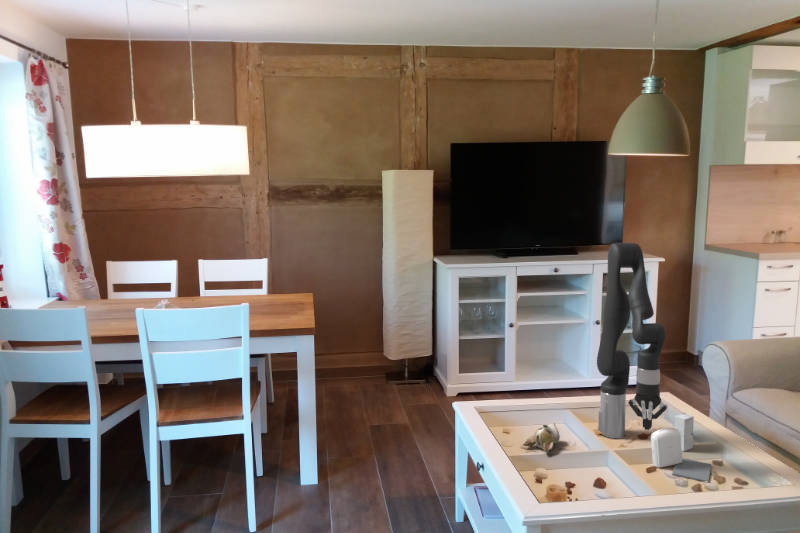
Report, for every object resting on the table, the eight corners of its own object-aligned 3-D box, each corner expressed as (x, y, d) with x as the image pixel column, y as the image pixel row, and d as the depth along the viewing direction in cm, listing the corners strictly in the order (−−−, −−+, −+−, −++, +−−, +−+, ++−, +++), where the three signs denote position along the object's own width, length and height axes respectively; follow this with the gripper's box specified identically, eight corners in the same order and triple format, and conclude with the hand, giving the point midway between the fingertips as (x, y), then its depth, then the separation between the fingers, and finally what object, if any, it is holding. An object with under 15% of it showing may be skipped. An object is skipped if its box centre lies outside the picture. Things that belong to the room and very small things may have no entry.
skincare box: (684, 452, 210) (685, 419, 208) (672, 447, 213) (673, 416, 212) (693, 447, 213) (694, 416, 212) (681, 443, 217) (683, 412, 215)
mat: (672, 475, 192) (672, 473, 192) (677, 458, 204) (677, 457, 204) (708, 482, 187) (708, 480, 187) (711, 465, 199) (711, 463, 199)
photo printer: (658, 469, 196) (656, 433, 196) (650, 464, 201) (648, 429, 200) (684, 463, 199) (682, 428, 198) (675, 458, 203) (673, 424, 202)
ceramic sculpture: (567, 422, 217) (546, 436, 206) (567, 443, 218) (547, 459, 207) (541, 415, 224) (520, 429, 213) (542, 436, 225) (521, 451, 215)
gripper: (625, 380, 201) (625, 429, 202) (667, 386, 194) (666, 436, 195) (629, 375, 207) (629, 422, 209) (670, 380, 200) (669, 428, 202)
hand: (647, 429), depth 202 cm, fingers closed
